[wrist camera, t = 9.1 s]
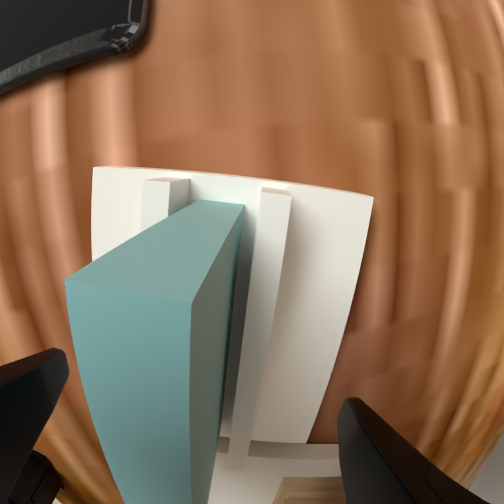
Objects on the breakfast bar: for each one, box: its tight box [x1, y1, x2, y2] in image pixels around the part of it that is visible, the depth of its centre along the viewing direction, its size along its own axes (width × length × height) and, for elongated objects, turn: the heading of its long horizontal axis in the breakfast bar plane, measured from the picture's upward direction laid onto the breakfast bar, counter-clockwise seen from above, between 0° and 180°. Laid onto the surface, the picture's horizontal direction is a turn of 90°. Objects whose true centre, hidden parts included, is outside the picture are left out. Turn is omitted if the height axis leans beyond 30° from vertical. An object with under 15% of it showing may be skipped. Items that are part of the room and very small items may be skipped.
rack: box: [208, 436, 341, 504], centre depth 15 cm, size 16×13×2 cm
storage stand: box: [91, 166, 374, 471], centre depth 11 cm, size 10×12×3 cm
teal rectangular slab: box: [64, 199, 244, 504], centre depth 8 cm, size 2×10×8 cm, turn 173°
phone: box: [0, 0, 150, 94], centre depth 9 cm, size 8×1×15 cm
